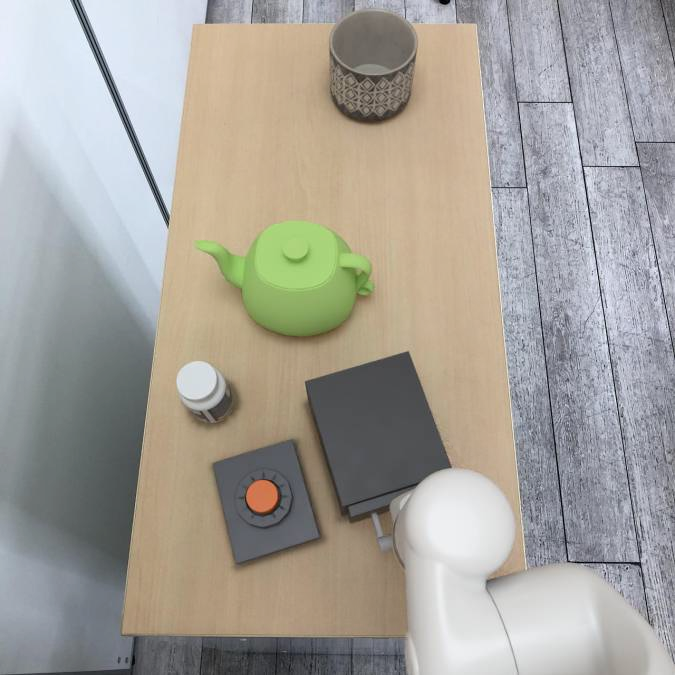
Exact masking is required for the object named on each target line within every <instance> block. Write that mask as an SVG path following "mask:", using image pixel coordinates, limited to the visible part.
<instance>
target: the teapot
mask: <svg viewBox="0 0 675 675" xmlns="http://www.w3.org/2000/svg"><path fill="white" fill-rule="evenodd" d="M193 247H195V249H197V250H199V251H201V252H203V253H205V254H207V255H209V256H211V257H212V258H213V259H214V260H215V262H216V263H217V265H218V268H219V270H220V271H219V272H220V273H221V275H222V276H223V278H224V280H225V281H226V282H228V283H229V284H230V285H232V286H234V287H235V288H238V289H240V290H241V295H242V302H243V305H244V309H245V311H246V312H247V314H248V316H249V317H250V318H251V319H252V321H253V322H255V323H256V324H258V325H259V326H261V327H263V328H264V329H267V330H269V331H271V332H274V333H276V334H279V335H284V336H289V337H312V336H317V335H321V334H324V333H328V332H330V331H332V330H334V329H336V328H338V327H339V326H341V325H342V324H343V323H344V322H345V321H346V320H347V319H348V318H349V316H350V315H351V313H352V311H353V309H354V306H355V303H356V299H357V295H360V296H368V295H371V294H373V292H374V290H375V282H374V280H371V279H370V277H371V274H372V271H373V266H372V262H371V260H370V259H369V258H367V257H366V256H365V255H362V254H360V253H359V254H358V253H354V252H353V251H352V249H351V247H350V246H349V245H348V243H347V242H346V241H345V239H343V238H342V236H340V235H339V234H338V233H337V232H335V231H334V230H331V229H330V228H328V227H326V226H324V225H321V224H318V223H315V222H311V221H306V220H305V221H304V220H288V221H287V220H286V221H281V222H277V223H275V224H271V225H270V226H268V227H266V228H265V229H264V230H262V231H261V232H260V233H259V234H258V235H257V236H256V237H255V238H254V240H253V241H252V242H251V244H250V246H249V248H248V250H247V253H246V256H240V255H238V254H237V255H236V254H233V253H232V252H230V251H229V250H228V249H227V248H226V247H225V246H224V245H221V243H217V242H216V241H212V240H207V239H199V240H196V241H194V242H193ZM358 270H359V271H360V272H359V273H358Z"/></svg>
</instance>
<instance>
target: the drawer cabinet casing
mask: <svg viewBox="0 0 675 675" xmlns="http://www.w3.org/2000/svg"><path fill="white" fill-rule="evenodd" d="M304 386H305V392H306V397H307V403H308V406H309V410H310V413H311V416H312V420H313V423H314V427H315V430H316V434H317V436H318V440H319V442H320V447H321V450H322V453H323V457H324V460H325V464H326V467H327V470H328V473H329V477H330V480H331V484H332V487H333V491H334V493H335V497H336V500H337V504H338V507H339V511H340V514H341V516H342V517H345V516H347V510H348V506H350V505H353V504H356V503H360V502H363V501H366V500H369V499H372V498H375V497H379V496H382V495H385V494H388V493H391V492H394V491H398V490H401V489H404V488H407V487H410V486H413V485H417V484H419V483H420V482H422V481H423V480H424V479H425V478H426V477H428V476H429V475H431V474H433V473H435V472H437V471H440V470H443V469H448V468H453V466H452V464H451V461H450V458H449V456H448V453H447V451H446V450H447V449H446V447H445V445H444V442H443V440H442V439H443V438H442V436H441V435H440V430H439V428H438V425H437V423H436V420H435V418H434V415H433V413H432V410H431V407H430V405H429V402H428V399H427V396H426V394H425V391H424V388H423V386H422V383H421V380H420V377H419V375H418V372H417V369H416V367H415V365H414V362H413V359H412V355H411V353H410V351H409V350H407V351H404V352H400V353H397V354H393V355H390V356H387V357H383V358H380V359H375V360H373V361H369V362H366V363H363V364H360V365H355V366H352V367H349V368H345V369H342V370H338V371H335V372H331V373H328V374H325V375H321V376H318V377H315V378H314V377H313V378H312V379H311V378H310V379H308V380H305V381H304Z"/></svg>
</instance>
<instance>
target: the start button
mask: <svg viewBox="0 0 675 675" xmlns="http://www.w3.org/2000/svg"><path fill="white" fill-rule="evenodd" d="M246 500H247V503H248V505H249V507H250V508H251V509H253V510H254V511H255V512H257V513H260V514H266V513H269V512H271V511H272V510H274V509H275V508H276V506H277V504H278V502H279V493H278V490H277V488H276V487H275V485H274V484H273V483H271V482H270V481H267V480H258V481H256V482H254V483H252V484H251V485H250V487H249V488H248V490H247V493H246Z"/></svg>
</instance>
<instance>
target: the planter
mask: <svg viewBox="0 0 675 675" xmlns="http://www.w3.org/2000/svg"><path fill="white" fill-rule="evenodd" d="M416 31H417V30H416V29H415V27H414V26H413V25H412V23H411V22H410V21H409V20H408V19H406V18H405V17H404V16H403V15H401V14H399V13H397V12H394V11H393V10H389V9H385V8H378V7H368V8H361V9H357V10H354V11H351V12H349V13H346V14H345V15H344V16H342V17H341V18H340V19H339V20H338V21H336V23H335V24H334V26H332V28H331V31H330V33H329V37H328V51H329V89H330V90H329V92H330V96H331V99H332V101H333V102H334V105H336V107H337V108H338V109H339V110H340V111H341V112H343V114H345V115H347V116H349V117H351V118H353V119H357V120H360V121H366V122H376V121H382V120H386V119H389V118H392V117H393V116H396V115H398V114H399V113H400V112H401V111H402V110H403V109H404V108H405V107H406V106H407V105H408V102H409V100H410V98H411V95H412V88H413V82H414V75H415V68H416V60H417V55H418V46H419V38H418V33H417V32H416Z"/></svg>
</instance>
